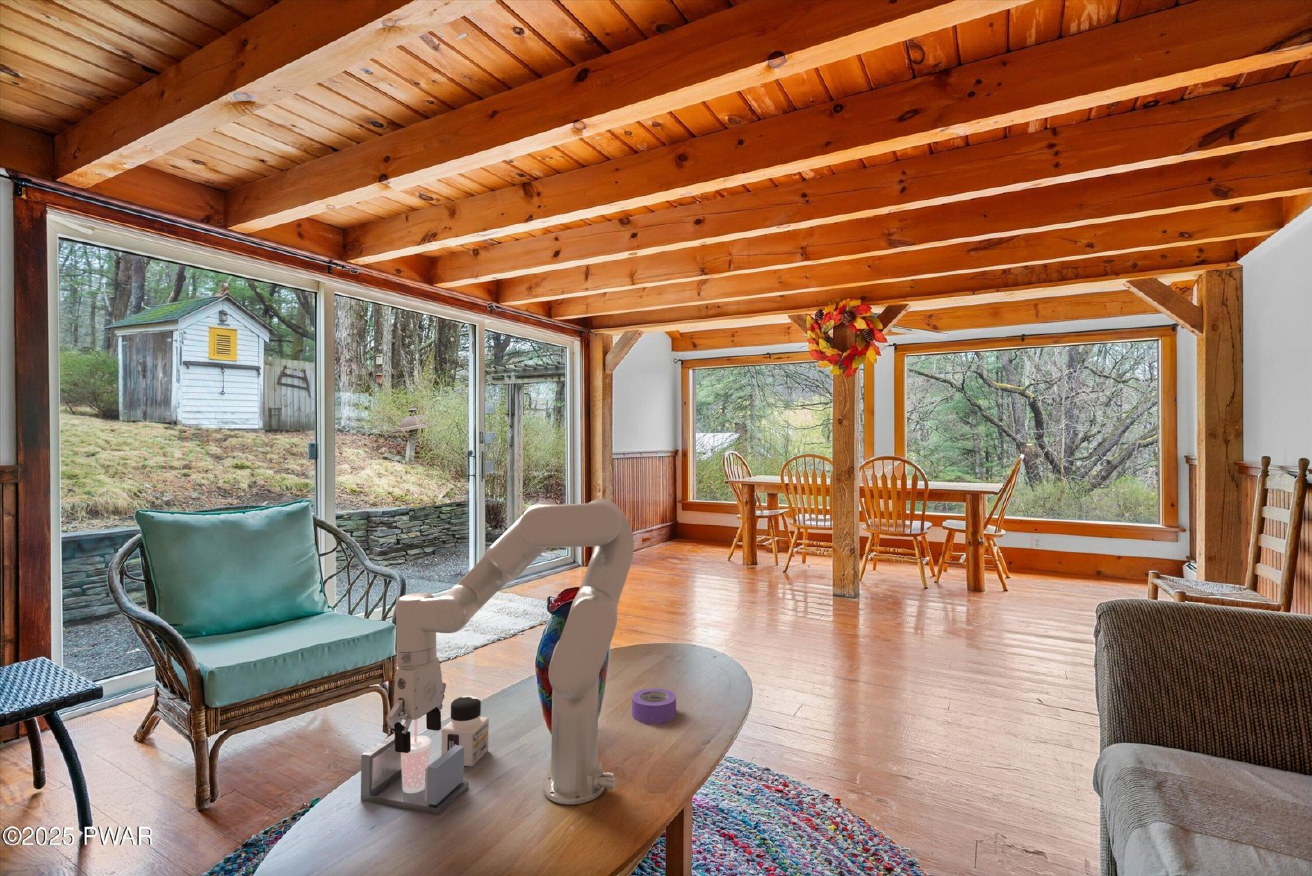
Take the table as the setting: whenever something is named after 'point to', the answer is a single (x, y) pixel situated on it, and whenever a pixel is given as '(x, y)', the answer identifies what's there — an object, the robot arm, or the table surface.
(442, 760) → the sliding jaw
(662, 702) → the tape roll
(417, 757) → the beverage cup
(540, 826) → the table surface
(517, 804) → the table surface
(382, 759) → the vise base
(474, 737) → the container
